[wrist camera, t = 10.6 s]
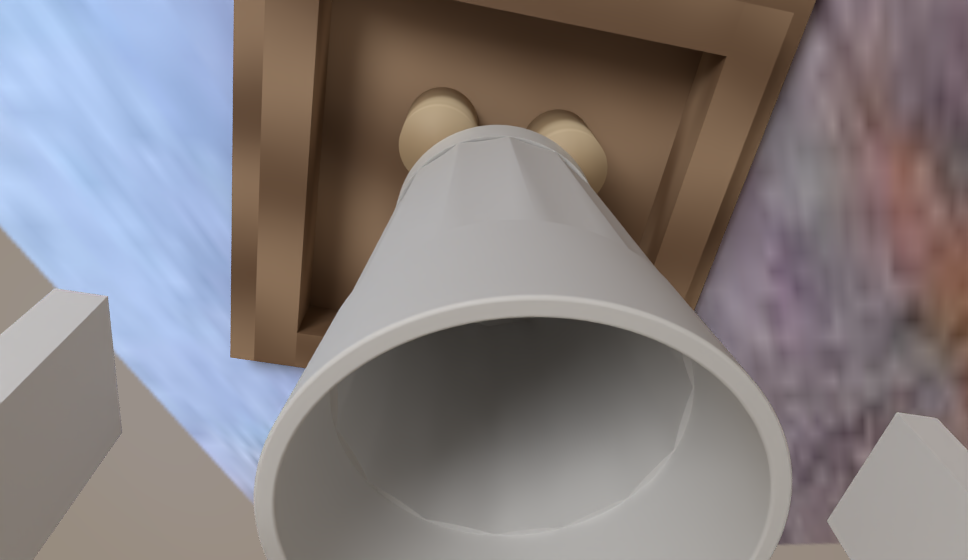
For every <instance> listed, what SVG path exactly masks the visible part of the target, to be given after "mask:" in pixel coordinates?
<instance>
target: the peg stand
mask: <svg viewBox="0 0 968 560" xmlns="http://www.w3.org/2000/svg"><path fill="white" fill-rule="evenodd" d="M815 2H816V0H234V48H233V149H232V250H231V351H230V357H231V358H238V359H245V360H253V361H259V362H266V363H274V364H281V365H288V366H295V367H302V368H306V367H307V365H308V363H309V362H310V360H311V358H312V356H313V355H314V353H315V351H316V349H317V348H318V346H319V344H320V342H321V341H322V339H323V337H324V335H325V334H326V332H327V330H328V328H329V327H330V325H331V323H332V321H333V319H334V318H335V316H336V314H337V313H338V311H339V309H340V308H341V306H342V305H343V303H344V302H345V300H346V299H347V298H348V296H349V295H350V294H351V293H352V291H353V289H354V287H355V285H356V283H357V281H358V279H359V277H360V276H361V274H362V272H363V270H364V268H365V266H366V264H367V262H368V260H369V258H370V256H371V254H372V253H373V251H374V249H375V247H376V245H377V243H378V241H379V239H380V237H381V235H382V233H383V231H384V230H385V228H386V226H387V224H388V222H389V220H390V218H391V216H392V214H393V212H394V210H395V208H396V204H397V201H398V197H399V194H400V191H401V188H402V186H403V183H404V181H405V179H406V177H407V175H408V174H409V172H410V170H411V169H412V167H413V166H414V165H415V163H416V162H417V161H418V160H419V159H420V158H421V156H422V155H423V154H424V153H426V152H427V151H428V150H429V149H430V148H431V147H433V146H434V145H435V144H437V143H438V142H440V141H441V140H443V139H445V138H446V137H448V136H450V135H453V134H455V133H457V132H460V131H463V130H466V129H469V128H473V127H478V126H485V125H509V126H516V127H521V128H525V129H528V130H531V131H534V132H536V133H539V134H541V135H543V136H545V137H547V138H549V139H550V140H552V141H554V142H555V143H557V144H558V145H559V146H561V147H562V148H563V149H564V150H565V151H566V152H567V153H568V154H569V155H570V156H571V157H572V158H573V159H574V160H575V161H576V163H577V164H578V165H579V167H580V168H581V170H582V171H583V173H584V175H585V177H586V179H587V181H588V183H589V185H590V186H591V188H592V189H593V190H594V191H595V193H596V194H597V195H598V196H599V198H600V199H601V200H602V201H603V202H604V204H605V205H606V206H607V207H608V209H609V210H610V211H611V212H612V214H613V215H614V216H615V217H616V219H617V220H618V221H619V222H620V224H621V225H622V226H623V227H624V229H625V230H626V231H627V232H628V234H629V235H630V236H631V237H632V239H633V240H634V241H635V242H636V244H637V245H638V246H639V247H640V249H641V250H642V251H643V252H644V254H645V255H646V256H647V257H648V259H649V260H650V261H651V262H652V264H653V265H654V266H655V267H656V269H657V270H658V271H659V272H660V273H661V274H662V275H663V276H664V277H665V278H666V279H667V280H668V281H669V283H670V284H671V285H672V286H673V287H674V288H675V290H676V291H677V292H678V293H679V294H680V295H681V297H682V298H683V299H684V300H685V301H686V302H687V304H688V305H689V306H690V307H691V308H692V309H693V311H694V309H695V307H696V304H697V302H698V299H699V297H700V294H701V291H702V289H703V286H704V284H705V281H706V279H707V276H708V274H709V271H710V269H711V266H712V264H713V261H714V258H715V256H716V253H717V251H718V248H719V246H720V243H721V241H722V238H723V236H724V233H725V231H726V228H727V225H728V223H729V220H730V218H731V215H732V213H733V210H734V208H735V205H736V203H737V200H738V198H739V195H740V192H741V190H742V187H743V185H744V182H745V180H746V177H747V175H748V172H749V170H750V167H751V165H752V162H753V159H754V157H755V154H756V152H757V149H758V147H759V144H760V142H761V139H762V137H763V134H764V131H765V129H766V126H767V124H768V121H769V119H770V116H771V114H772V111H773V109H774V106H775V104H776V101H777V98H778V96H779V93H780V91H781V88H782V86H783V83H784V81H785V78H786V76H787V73H788V71H789V68H790V65H791V63H792V60H793V58H794V55H795V53H796V50H797V48H798V45H799V43H800V40H801V38H802V35H803V32H804V30H805V27H806V25H807V22H808V20H809V17H810V15H811V12H812V10H813V7H814V5H815Z"/></svg>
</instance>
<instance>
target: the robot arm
mask: <svg viewBox="0 0 968 560" xmlns="http://www.w3.org/2000/svg"><path fill="white" fill-rule="evenodd" d="M121 433H122V426H121V417H120V407H119V398H118V389H117V379H116V370H115V360H114V351H113V341H112V332H111V322H110V313H109V303H108V296H103V295H96V294H90V293H83V292H76V291H69V290H62V289H56V288H54V289H53V290H52V291H51V292H50V293H49V294H47V295H46V296H45V297H44V298H43V299H42V300H41V301H39V302H38V303H37V304H36V305H35V306H33V308H31V309H30V310H29V311H28V312H26V313H25V314H24V315H23V316H22V317H21V318H19V319H18V320H17V321H16V322H15V323H14V324H12V325H11V326H10V327H9V328H8V329H7V330H5V331H4V332H3V333H2V334H1V335H0V560H33V559H34V558H35V556H36V555H37V554H38V552H39V551H40V549H41V548H42V546H43V545H44V544H45V542H46V541H47V539H48V537H49V536H50V535H51V533H52V532H53V531H54V529H55V528H56V526H57V525H58V524H59V522H60V521H61V519H62V518H63V516H64V515H65V514H66V512H67V511H68V509H69V508H70V506H71V505H72V503H73V502H74V501H75V499H76V498H77V496H78V495H79V493H80V492H81V491H82V489H83V488H84V486H85V485H86V483H87V482H88V481H89V479H90V478H91V476H92V475H93V473H94V472H95V470H96V469H97V467H98V466H99V465H100V463H101V462H102V461H103V459H104V458H105V456H106V455H107V453H108V452H109V450H110V449H111V447H112V446H113V445H114V443H115V442H116V440H117V439H118V438H119V436H120V435H121ZM827 522H828V524H829V525H830V527H831V529H832V530H833V532H834V534H835V535H836V537H837V539H838V540H839V542H840V544H841V545H842V547H843V549H844V550H845V552H846V553H847V555H848V557H849V558H850V560H968V450H967V449H966V448H965V447H964V446H963V445H962V444H961V443H960V442H959V441H958V440H957V439H956V438H955V437H954V436H953V435H952V433H951V432H950V431H949V430H948V429H947V428H946V427H945V426H944V425H943V424H942V423H941V422H940V421H939V420H938V419H937V418H932V417H926V416H919V415H912V414H905V413H898V412H897V413H896V414H895V416H894V417H893V419H892V421H891V422H890V424H889V425H888V427H887V428H886V430H885V431H884V433H883V435H882V436H881V438H880V439H879V441H878V442H877V444H876V445H875V447H874V449H873V450H872V452H871V453H870V455H869V456H868V458H867V459H866V461H865V463H864V464H863V466H862V467H861V469H860V470H859V472H858V473H857V475H856V477H855V478H854V480H853V481H852V483H851V484H850V486H849V487H848V489H847V490H846V492H845V494H844V495H843V497H842V498H841V500H840V501H839V503H838V504H837V506H836V508H835V509H834V511H833V512H832V514H831V515H830V517H829V518H828V520H827Z"/></svg>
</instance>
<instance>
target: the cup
mask: <svg viewBox="0 0 968 560" xmlns="http://www.w3.org/2000/svg"><path fill="white" fill-rule="evenodd" d="M791 494H792V468H791V460H790V454H789V449H788V445H787V441H786V438H785V435H784V432H783V429H782V427H781V424H780V422H779V420H778V418H777V416H776V413H775V412H774V410H773V408H772V406H771V404H770V403H769V401H768V400H767V398H766V397H765V395H764V394H763V392H762V391H761V390H760V388H759V387H758V386H757V384H756V383H755V382H754V381H753V380H752V378H751V377H750V376H749V375H748V374H747V373H746V371H745V370H744V369H743V368H742V367H741V366H740V364H739V363H738V362H737V361H736V360H735V359H734V357H733V356H732V355H731V354H730V353H729V352H728V350H727V349H726V348H725V347H724V346H723V345H722V343H721V342H720V341H719V340H718V339H717V338H716V336H715V335H714V334H713V333H712V332H711V331H710V329H709V328H708V327H707V326H706V325H705V323H704V322H703V321H702V320H701V319H700V318H699V316H698V315H697V314H696V313H695V312H694V311H693V309H692V308H691V307H690V306H689V305H688V304H687V302H686V301H685V300H684V299H683V298H682V297H681V295H680V294H679V293H678V292H677V291H676V290H675V288H674V287H673V286H672V285H671V284H670V283H669V281H668V280H667V279H666V278H665V277H664V276H663V275H662V274H661V273H660V272H659V271H658V270H657V269H656V267H655V266H654V265H653V264H652V262H651V261H650V260H649V259H648V257H647V256H646V255H645V254H644V252H643V251H642V250H641V249H640V247H639V246H638V245H637V244H636V242H635V241H634V240H633V239H632V237H631V236H630V235H629V234H628V232H627V231H626V230H625V229H624V227H623V226H622V225H621V224H620V222H619V221H618V220H617V219H616V217H615V216H614V215H613V214H612V212H611V211H610V210H609V209H608V207H607V206H606V205H605V204H604V202H603V201H602V200H601V199H600V198H599V196H598V195H597V194H596V193H595V191H594V190H593V189H592V188H591V186H590V185H589V183H588V181H587V179H586V177H585V175H584V173H583V171H582V170H581V168H580V167H579V165H578V164H577V163H576V161H575V160H574V159H573V158H572V157H571V156H570V155H569V154H568V153H567V152H566V151H565V150H564V149H563V148H562V147H561V146H559V145H558V144H557V143H555V142H554V141H552V140H550V139H549V138H547V137H545V136H543V135H541V134H539V133H536V132H534V131H531V130H528V129H525V128H521V127H516V126H509V125H485V126H478V127H473V128H469V129H466V130H463V131H460V132H457V133H455V134H453V135H450V136H448V137H446V138H445V139H443V140H441V141H440V142H438V143H437V144H435V145H434V146H433V147H431V148H430V149H429V150H428V151H427V152H426V153H424V154H423V155H422V156H421V158H420V159H419V160H418V161H417V162H416V163H415V165H414V166H413V167H412V169H411V170H410V172H409V174H408V175H407V177H406V179H405V181H404V183H403V186H402V188H401V191H400V194H399V197H398V201H397V204H396V208H395V210H394V212H393V214H392V216H391V218H390V220H389V222H388V224H387V226H386V228H385V230H384V231H383V233H382V235H381V237H380V239H379V241H378V243H377V245H376V247H375V249H374V251H373V253H372V254H371V256H370V258H369V260H368V262H367V264H366V266H365V268H364V270H363V272H362V274H361V276H360V277H359V279H358V281H357V283H356V285H355V287H354V289H353V291H352V293H351V294H350V295H349V296H348V298H347V299H346V300H345V302H344V303H343V305H342V306H341V308H340V309H339V311H338V313H337V314H336V316H335V318H334V319H333V321H332V323H331V325H330V327H329V328H328V330H327V332H326V334H325V335H324V337H323V339H322V341H321V342H320V344H319V346H318V348H317V349H316V351H315V353H314V355H313V356H312V358H311V360H310V362H309V363H308V365H307V367H306V369H305V370H304V372H303V374H302V376H301V377H300V379H299V381H298V383H297V384H296V386H295V388H294V390H293V391H292V393H291V395H290V397H289V398H288V400H287V402H286V404H285V405H284V407H283V409H282V411H281V412H280V414H279V416H278V418H277V419H276V421H275V423H274V425H273V427H272V428H271V430H270V432H269V435H268V437H267V439H266V441H265V444H264V446H263V449H262V452H261V455H260V459H259V462H258V466H257V472H256V477H255V486H254V513H255V522H256V526H257V531H258V536H259V539H260V542H261V545H262V549H263V551H264V553H265V556H266V558H267V560H770V558H771V556H772V554H773V553H774V551H775V549H776V547H777V545H778V542H779V540H780V538H781V535H782V533H783V530H784V527H785V524H786V521H787V517H788V512H789V508H790V502H791Z"/></svg>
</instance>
